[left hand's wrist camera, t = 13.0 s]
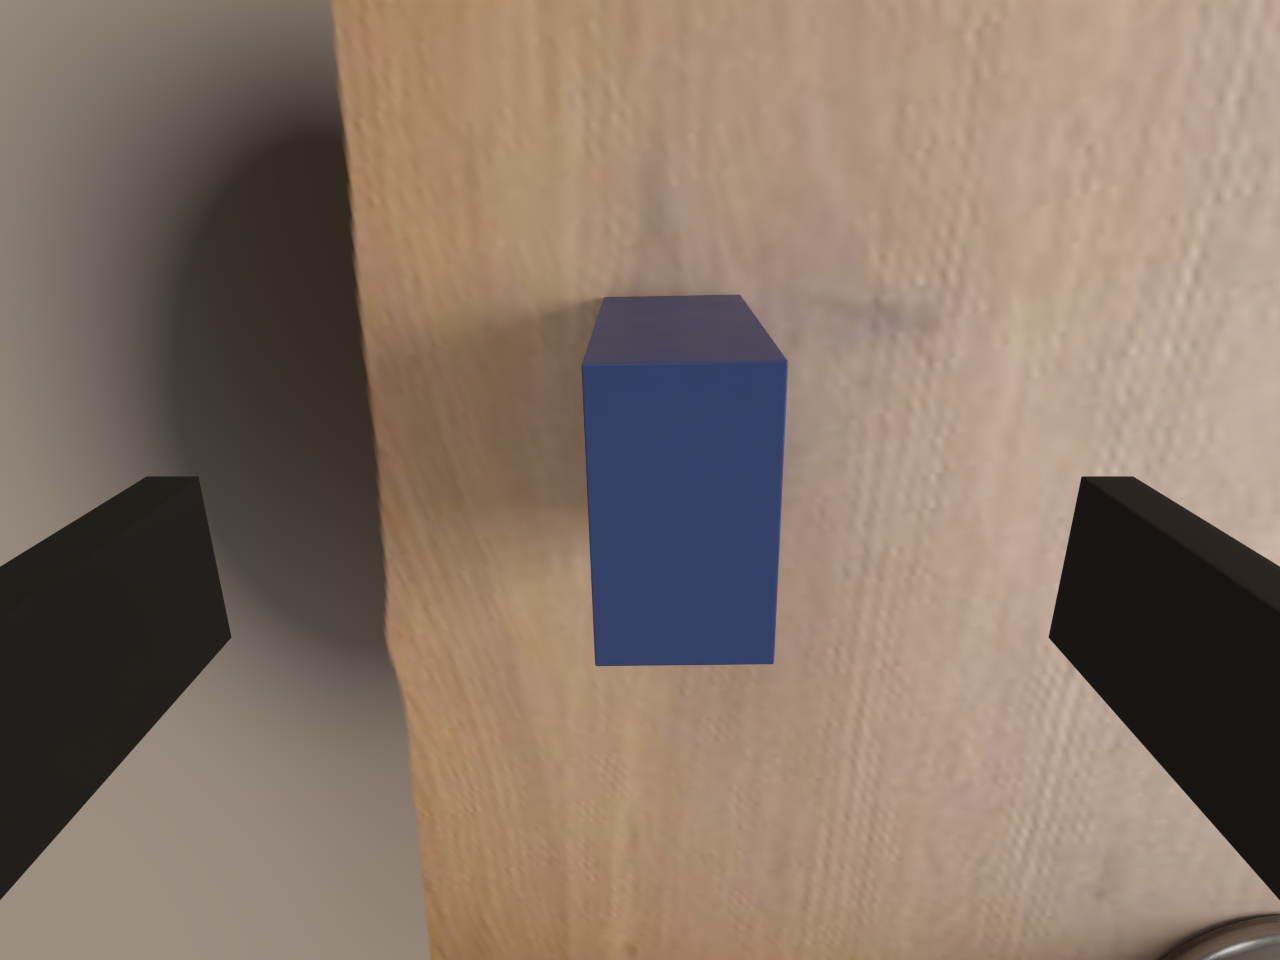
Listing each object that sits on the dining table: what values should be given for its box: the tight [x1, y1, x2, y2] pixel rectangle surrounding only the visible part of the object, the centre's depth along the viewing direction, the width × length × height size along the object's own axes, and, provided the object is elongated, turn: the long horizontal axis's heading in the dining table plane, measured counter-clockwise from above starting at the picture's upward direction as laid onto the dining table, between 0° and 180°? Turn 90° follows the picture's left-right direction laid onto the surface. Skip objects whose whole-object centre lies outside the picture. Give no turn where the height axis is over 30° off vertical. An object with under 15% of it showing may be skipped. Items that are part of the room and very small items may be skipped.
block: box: [582, 295, 788, 666], centre depth 28 cm, size 9×5×12 cm, turn 1°
